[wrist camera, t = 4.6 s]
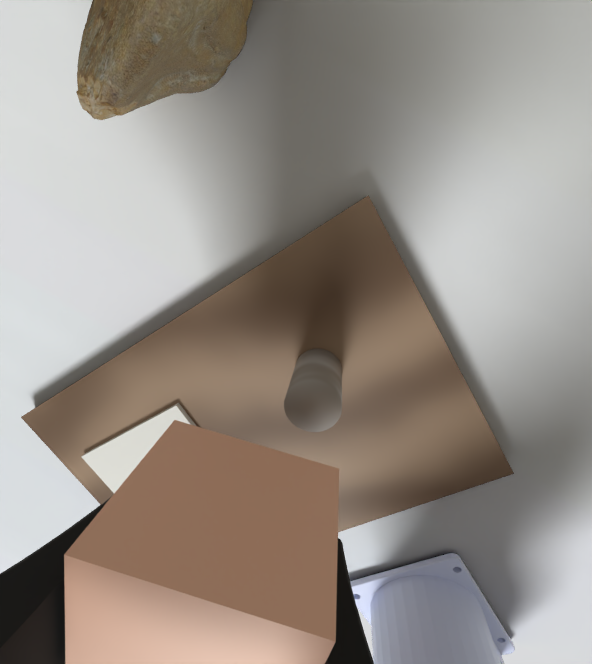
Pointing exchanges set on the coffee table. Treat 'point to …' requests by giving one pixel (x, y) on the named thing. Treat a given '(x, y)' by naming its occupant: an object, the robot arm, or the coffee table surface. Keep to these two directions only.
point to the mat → (131, 447)
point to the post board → (256, 369)
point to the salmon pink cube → (208, 559)
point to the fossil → (155, 50)
